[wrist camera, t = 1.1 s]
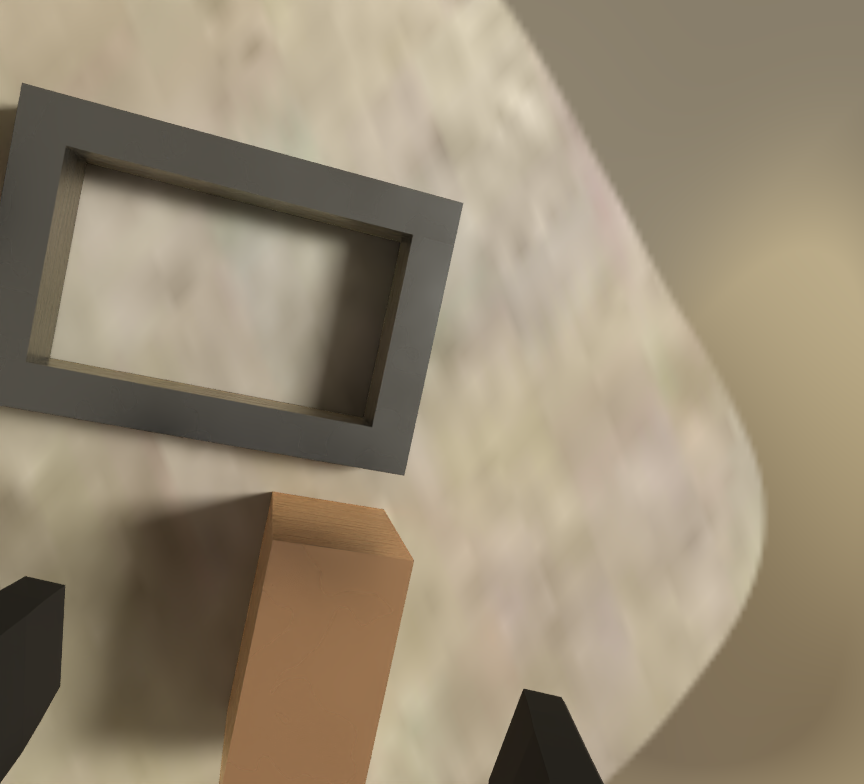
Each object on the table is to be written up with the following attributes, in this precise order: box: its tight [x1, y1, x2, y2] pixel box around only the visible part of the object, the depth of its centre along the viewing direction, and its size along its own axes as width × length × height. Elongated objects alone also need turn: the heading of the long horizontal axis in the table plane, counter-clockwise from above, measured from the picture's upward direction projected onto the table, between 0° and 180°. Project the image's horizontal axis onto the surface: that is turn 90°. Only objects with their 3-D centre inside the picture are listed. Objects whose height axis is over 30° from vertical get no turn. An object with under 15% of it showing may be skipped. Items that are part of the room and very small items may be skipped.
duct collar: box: [0, 83, 463, 475], centre depth 20 cm, size 8×11×2 cm
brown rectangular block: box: [219, 492, 414, 784], centre depth 20 cm, size 7×4×5 cm, turn 167°
